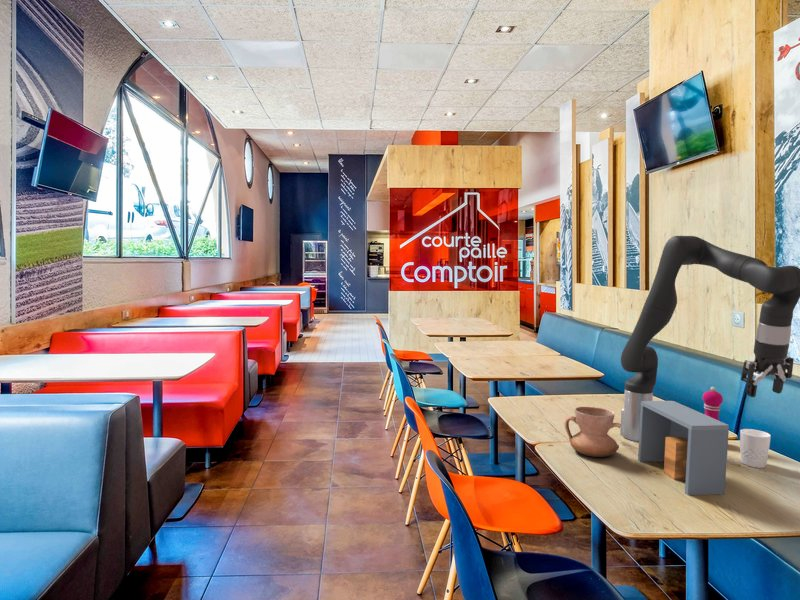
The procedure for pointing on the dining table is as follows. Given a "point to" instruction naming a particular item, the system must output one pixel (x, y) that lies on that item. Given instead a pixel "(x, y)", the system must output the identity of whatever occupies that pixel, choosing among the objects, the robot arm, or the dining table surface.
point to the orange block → (675, 457)
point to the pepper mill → (712, 403)
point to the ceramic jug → (593, 431)
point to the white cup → (754, 447)
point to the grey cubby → (702, 438)
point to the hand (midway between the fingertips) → (763, 394)
